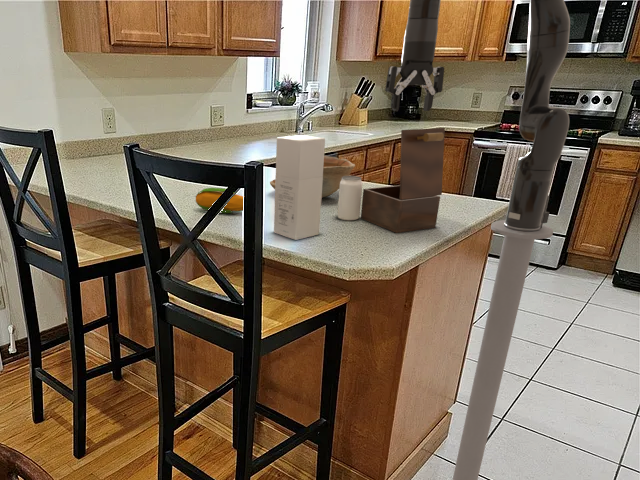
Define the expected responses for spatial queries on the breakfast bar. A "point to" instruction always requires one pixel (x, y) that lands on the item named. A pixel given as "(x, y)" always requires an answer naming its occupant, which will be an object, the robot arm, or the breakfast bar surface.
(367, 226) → the breakfast bar surface
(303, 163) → the tall white carton
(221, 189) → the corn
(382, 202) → the chest
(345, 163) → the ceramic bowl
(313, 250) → the breakfast bar surface
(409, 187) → the chest lid
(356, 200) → the can
